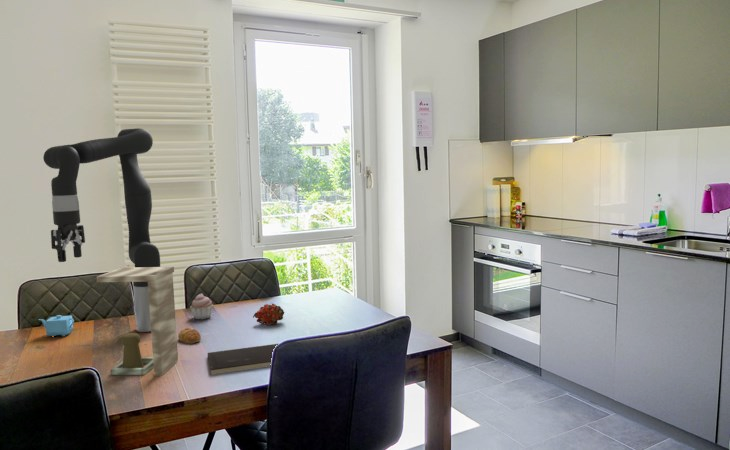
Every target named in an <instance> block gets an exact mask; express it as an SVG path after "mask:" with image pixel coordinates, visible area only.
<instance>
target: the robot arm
mask: <svg viewBox="0 0 730 450" xmlns="http://www.w3.org/2000/svg"><path fill="white" fill-rule="evenodd" d="M153 144H154V141H153V137H152V135H151V133H150V132H149V131H148V130H147V129H144V128H140V127H139V128H138V127H137V128H125V129H121V130H120V131H119V132H118V133H117V136H115V137H106V138H105V137H104V138H97V139H95V138H94V139H90V140H86V141H85V140H84V141H80V142H76V143H73V144H66V145H65V144H64V145H57V146H51V147H50V148H47V149H46V150H45V152H44V154H43V162H44V163H45V165H46V166H47V167H49V168H50V169H55V170H58V173H57V174H58V175H57V176H54V177H53V178H51V182H50V185H51V195H52V196H51V197H52V198H51V199H52V200H51V206H52V207H51V208H52V217H53V218H52V219H53V220H52V221H53V224H54V226H57V229H51V230H50V239H51V240H50V244H51V249H52V250H55V251H57V252H56V253H57V261H58V263H64V262H66V261H67V254H66V253H67V251H66V248H67V245H68V244H69V243H70V242H71V243H72V245H73V246H72V249H73V257H74V258H81V257H82V245H83V244H85V243H86V237H85V236H86V235H85V230H84V229H85V228H84V225H83V224H82V225H81V224H80V223H81V213H80V202H79V196H78V189H77V181H78V175H79V169H80V164H83V165H84V164H89V163H94V162H98V161H101V160H105V159H108V158H112V157H117V156H119V161H120V166H121V174H122V181H123V182H122V183H123V193H124V194H123V195H124V204H125V212H126V220H127V228H128V257H129V260H130V261H131V262H132V263H133V264H134V267H161V255H160V250H159V248H158V247H157V245H155V244H154V243H151V239H150V238H151V237H150V231H149V229H150V228H149V227H150V221H151V220H150V219H151V216H152V212H153V211H152V209H153V199H152V190H151V187H150V184H149V183H148V181H147V179H146V178H145V176H144V174H143V173H142V172H141V169H140V167H139V162H138V161H139V160H138V155H141V154H145V153H148V152H149V151H150V150H151V149H152V147H153ZM79 224H80V225H79ZM132 287H133V289H132V290H133V301H134V302H133V303H134V314H135V326H136V327H135V329H136V332H140V333H147V332H148V333H149V332H150V333H151V322H150V308H149V293H148V282H132Z"/></svg>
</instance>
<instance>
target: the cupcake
mask: <svg viewBox="0 0 730 450" xmlns="http://www.w3.org/2000/svg"><path fill="white" fill-rule="evenodd" d="M213 308H214V304H213V302H212V300H211V299H210V298H209V297H208V296H204V294H203V293H199V294H198V295H196V296H195V298H194V299H193V300H192V301H191V305H190V307H189V309H190V310H191V313H192V316H193V318H194V319H195V320H199V319H201V320H207V319H209V318H210V317H211V316H212V311H213V310H212V309H213ZM206 318H207V319H206Z"/></svg>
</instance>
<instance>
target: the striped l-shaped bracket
mask: <svg viewBox="0 0 730 450" xmlns="http://www.w3.org/2000/svg"><path fill="white" fill-rule="evenodd" d="M174 272H175V267H174V266H160V267H135V266H134V267H119V268H116V269H114V270H111V271H108V272H106V273H102V274H100V275H97V276H96V283H131V282H132V283H133V282H148V293H149V308H150V322H151V331H150V336H151V347H152V348H151V349H152V350H151V351H152V356H141V357H142V362H143V364H145V365H143V366H144V367H143V368H123V360H121V361H120V362H119V363H117V364H116V365H115V366H113V367H112V368H111V369H110V375H113V376H114V375H115V376H118V375H119V376H122V375H123V376H126V375H130V376H132V375H133V376H134V375H136V376H137V375H140V376H141V375H142V376H143V375H144V376H145V375H147V374H148V373H149V372H150V371H151V370H152V369H153V376H155V377H159V376H161V377H162V376H163V375H164V374H165V373H167V372H169V370H170V369H171V368H173V366H174V365H175V364H177V363H178V362H179V351H178V339H177V337H178V334H177V322H176V306H175V305H176V304H175V292H174V291H175V289H174V274H173V273H174Z"/></svg>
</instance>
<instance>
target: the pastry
mask: <svg viewBox="0 0 730 450" xmlns="http://www.w3.org/2000/svg"><path fill="white" fill-rule="evenodd" d="M177 337H178V340H179V341H180V342H181V343H184V344H190V345H191V344H195V343H198V342H200V341H201V339H202V338H201V334H200V332H199V331H198V330H196V329H194V328H190V327H185V328H184V329H182V330H180V332H178V334H177Z"/></svg>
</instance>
